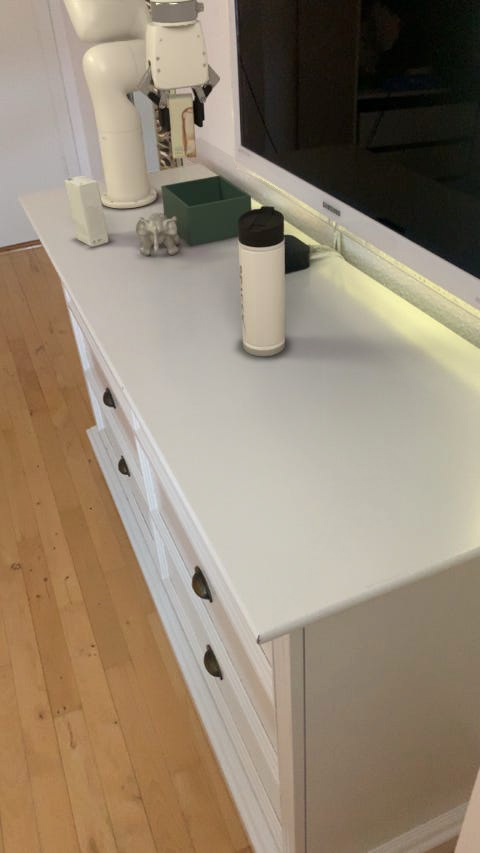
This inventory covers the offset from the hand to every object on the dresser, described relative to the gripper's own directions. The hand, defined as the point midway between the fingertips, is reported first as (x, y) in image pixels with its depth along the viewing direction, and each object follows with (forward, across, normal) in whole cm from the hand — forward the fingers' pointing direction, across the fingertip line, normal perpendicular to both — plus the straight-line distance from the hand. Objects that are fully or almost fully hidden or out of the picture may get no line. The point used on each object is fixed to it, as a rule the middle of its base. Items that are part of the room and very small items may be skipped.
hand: (182, 126), depth 127 cm
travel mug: (+20, +5, +46) cm, 50 cm away
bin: (+21, -5, -4) cm, 22 cm away
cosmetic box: (+21, +18, -8) cm, 29 cm away
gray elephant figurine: (+21, +8, +6) cm, 23 cm away
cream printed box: (+5, 0, 0) cm, 5 cm away
